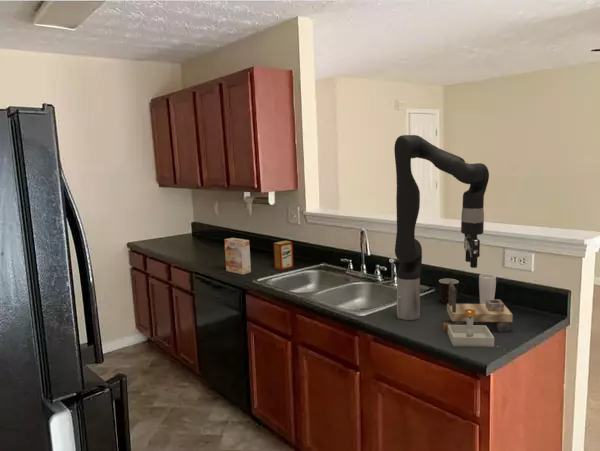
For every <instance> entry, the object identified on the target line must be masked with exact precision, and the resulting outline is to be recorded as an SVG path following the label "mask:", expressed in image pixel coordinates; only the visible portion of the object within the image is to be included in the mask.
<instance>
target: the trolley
mask: <svg viewBox="0 0 600 451" xmlns="http://www.w3.org/2000/svg"><path fill="white" fill-rule="evenodd" d="M456 291H457V290H456V288H455V287H454V285H453V284H452V282H449V304H446V312H447V314H448V318H449V321H451V322H452V323H453V324H454V325H466V322H467V316H466V315H465V310H466V309H472V310H475V316H474V320H473V323H474V322H479V323H483V322H485V323H486V322H487V323H489V322H490V323H496V328H497V330H498V331H499V332H500V333H503V334H504V333H507V332H509V330H510V329H511V326H510V323H513V319H514V318H513V317H514V316H513V315H514V314H513V313H512V312H511V311H510V309H509V308H508V307H507V306H506V305H505V303H504V302H503V301H502V300H501V299H497V298H496V299H495V298H494V299H486V304H480V303H457V298H456ZM457 292H458V291H457Z"/></svg>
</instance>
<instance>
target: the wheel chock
mask: <svg viewBox="0 0 600 451" xmlns="http://www.w3.org/2000/svg"><path fill="white" fill-rule="evenodd" d="M448 325H454V322H443V325H442V326H443V329H442V330H443V332H444V333H448Z"/></svg>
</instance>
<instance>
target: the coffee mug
mask: <svg viewBox="0 0 600 451" xmlns="http://www.w3.org/2000/svg"><path fill="white" fill-rule="evenodd" d="M449 282H452V284H453V285H454V287H455V288H456V290H457V291H456V299H457V297H458V296H459V295H460V294H461V293H462V292H464V290H465V289H466V284H465V283H464V282H459V280H457V279H454V278H442V279H441V278H440V279H439V280H438V285H439V294H440V295H439V296H440V302H441V304H444V305H447V304H449ZM460 285H463V288H461V290H460V291H459V292H458V288H459V286H460Z"/></svg>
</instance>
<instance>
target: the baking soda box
mask: <svg viewBox="0 0 600 451" xmlns="http://www.w3.org/2000/svg"><path fill="white" fill-rule="evenodd" d="M293 244H294V243H293V241H290V240H282V241H277V242H273V256H274V258H273V261H274V269H277V270H279V271H283V270H287V269H292V268H294V246H293Z"/></svg>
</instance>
